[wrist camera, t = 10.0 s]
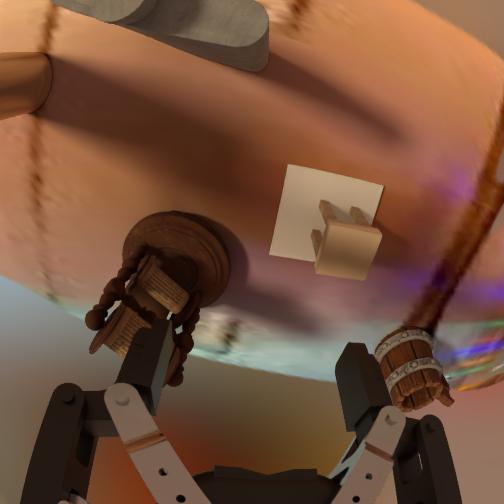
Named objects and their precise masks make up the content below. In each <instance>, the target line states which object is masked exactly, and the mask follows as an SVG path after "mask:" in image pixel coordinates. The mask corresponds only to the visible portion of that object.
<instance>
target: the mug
mask: <svg viewBox="0 0 504 504" xmlns="http://www.w3.org/2000/svg"><path fill="white" fill-rule="evenodd" d="M381 342H382V344H381V343H379V344H378V346H377V348H376V349H375V354H374V357H375V358H376V359H377V361H378V362H379V364H380V367H381V370H382V373H383V376H384V380H385V382H386V385H387V388H388V391H389V394H390V397H391V400H392V401H393V404H394V406H395V407H397V408H399V409H400V410H401V411H402V412H411V411H412V410H413V409H414V410H418V409H421V408H423V407H425V406H426V405H428V404H430V403H431V402H433V401H434V398H435V399H438V400H439V401H440V402H441V403H442V404H444V405H446V406H447V407H449V406H451V405H452V404H453V403H454V400H453V399H452V398H451V397H450V394H449V391H450V388H449V384H448V383H447V381H446V380H445V377H444V376H443V373H442V369H443V367H442V366H440V363H439V362H438V361H437V360H436V359H434V358H433V355H432V350H433V344H434V341H433V340H431V337H430V336H429V334H428V333H427V332H425V331H423V330H422V329H421V328H418V327H407V329H406V330H405V328H402V329H399V330H396V331H394V332H392V333H391V334H389V335H387V336H386V337H385V338H384V339H383V340H382V341H381Z"/></svg>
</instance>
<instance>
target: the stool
mask: <svg viewBox="0 0 504 504" xmlns="http://www.w3.org/2000/svg"><path fill="white" fill-rule="evenodd" d="M319 210H320V212H321V215H322V217H323V220H324V222H325V225H326V227H325V230H324V234H323V237H322V235H321V232H320V230H314V229H312V233H311V240H312V244H313V248H314V252H315V256H316V260H315V264H314V267H315V272H316V274H322V275H329V276H335V277H341V278H348V279H354V280H361V281H365V279H366V276H367V274H368V271H369V269H370V267H371V264H372V262H373V259H374V257H375V254H376V251H377V249H378V246H379V244H380V241H381V238H382V236H383V235H382V234H381V232H380V231H379V229H378V228H374V227H372V226H371V225H370V223H369V222H368V220H367V219H366V217H365V216H364V215H363V213H362V212H361V210H360V209H359V208H358V207H353V206H351V209H350V212H349V214H350V216H351V217H352V219H353V221H354V222H355V223H350V222H345V221H341V220H338V219H337V217H336V215H335V213H334V211H333V209H332V207H331V205H330V203H329V201H326V200H321V199H320V203H319Z"/></svg>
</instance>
